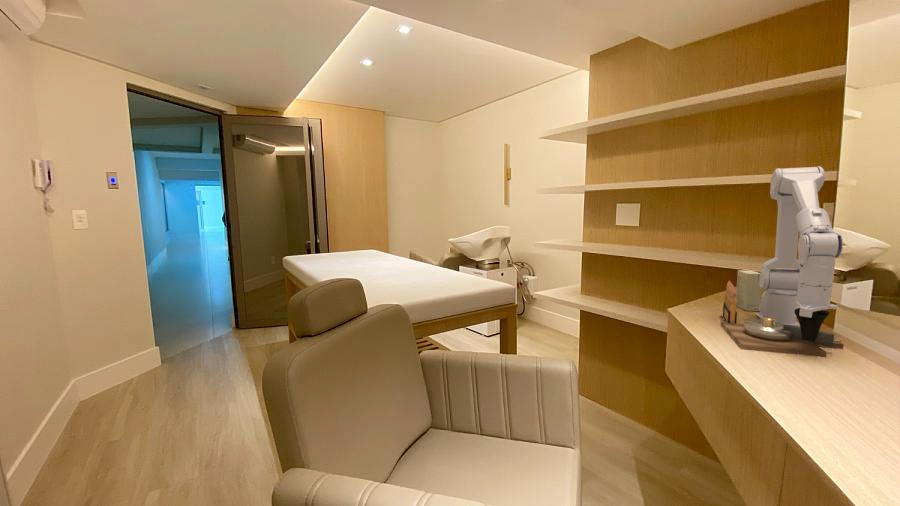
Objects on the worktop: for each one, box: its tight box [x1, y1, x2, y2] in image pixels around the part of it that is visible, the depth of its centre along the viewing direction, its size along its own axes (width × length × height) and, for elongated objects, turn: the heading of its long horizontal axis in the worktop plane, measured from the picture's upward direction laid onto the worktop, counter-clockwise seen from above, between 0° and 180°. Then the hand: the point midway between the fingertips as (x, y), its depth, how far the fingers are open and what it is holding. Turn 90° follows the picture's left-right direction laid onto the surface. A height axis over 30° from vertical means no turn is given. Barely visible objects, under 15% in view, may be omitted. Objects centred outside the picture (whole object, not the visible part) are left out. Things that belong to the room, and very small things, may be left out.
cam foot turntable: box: [743, 317, 836, 347], centre depth 95 cm, size 17×10×4 cm, turn 38°
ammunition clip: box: [722, 280, 738, 324], centre depth 111 cm, size 11×2×12 cm, turn 152°
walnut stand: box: [720, 321, 845, 358], centre depth 97 cm, size 18×22×1 cm
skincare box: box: [736, 269, 762, 312], centre depth 123 cm, size 6×4×12 cm
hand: (808, 339), depth 91 cm, fingers closed
